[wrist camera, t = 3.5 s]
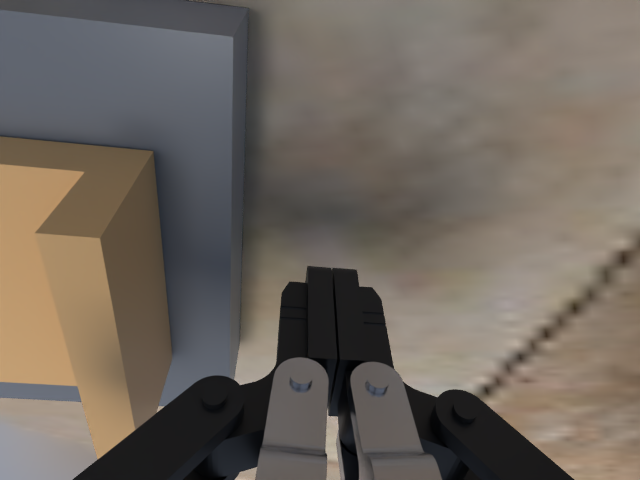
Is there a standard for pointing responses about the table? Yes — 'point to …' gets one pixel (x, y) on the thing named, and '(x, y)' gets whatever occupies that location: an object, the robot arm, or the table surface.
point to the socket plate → (148, 142)
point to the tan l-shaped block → (84, 279)
